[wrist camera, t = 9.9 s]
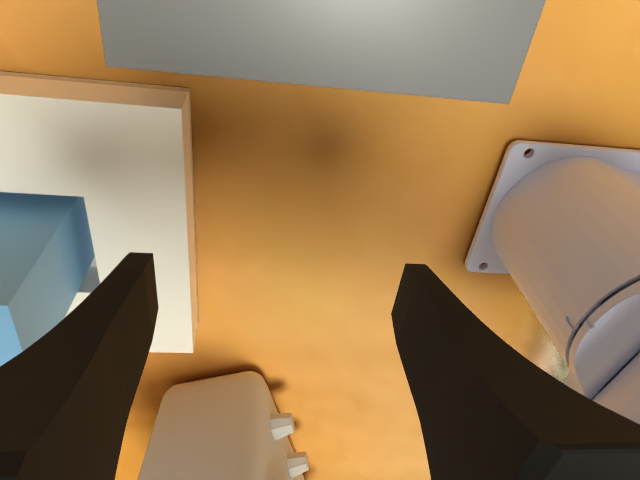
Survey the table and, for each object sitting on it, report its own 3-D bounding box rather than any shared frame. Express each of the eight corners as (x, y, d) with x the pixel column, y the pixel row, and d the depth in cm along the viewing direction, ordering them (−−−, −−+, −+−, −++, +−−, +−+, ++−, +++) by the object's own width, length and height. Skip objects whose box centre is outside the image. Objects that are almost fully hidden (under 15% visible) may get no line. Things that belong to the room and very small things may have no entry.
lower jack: (190, 87, 21) (181, 108, 19) (198, 320, 29) (193, 352, 27) (-178, 55, 19) (-232, 74, 17) (-59, 313, 27) (-86, 348, 25)
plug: (84, 186, 22) (7, 305, 16) (97, 264, 25) (36, 392, 19) (-10, 180, 22) (-128, 300, 15) (14, 259, 24) (-79, 391, 18)
